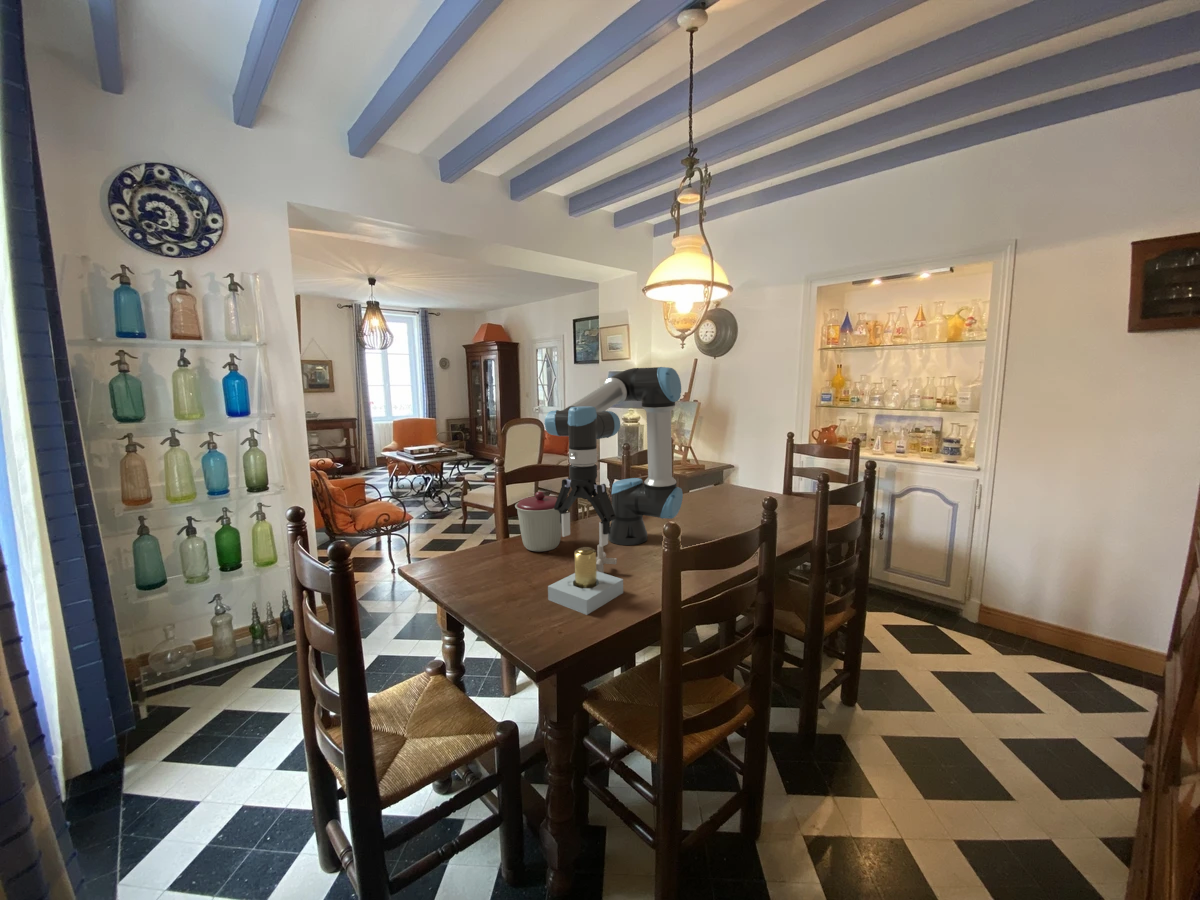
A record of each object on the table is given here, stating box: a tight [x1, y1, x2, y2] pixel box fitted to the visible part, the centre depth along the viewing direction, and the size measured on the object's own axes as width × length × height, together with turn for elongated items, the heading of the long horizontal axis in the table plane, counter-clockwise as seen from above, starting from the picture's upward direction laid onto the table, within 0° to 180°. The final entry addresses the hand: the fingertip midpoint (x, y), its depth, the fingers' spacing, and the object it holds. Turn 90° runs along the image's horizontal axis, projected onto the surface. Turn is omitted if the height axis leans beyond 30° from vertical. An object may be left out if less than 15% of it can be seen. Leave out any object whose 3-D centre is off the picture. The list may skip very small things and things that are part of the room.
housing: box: [547, 570, 624, 616], centre depth 133 cm, size 16×14×5 cm
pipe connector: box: [596, 544, 618, 573], centre depth 149 cm, size 10×10×10 cm
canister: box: [514, 490, 562, 553], centre depth 174 cm, size 18×18×21 cm
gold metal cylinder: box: [573, 546, 597, 589], centre depth 133 cm, size 6×6×14 cm
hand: (584, 540), depth 131 cm, fingers open, 13 cm apart
